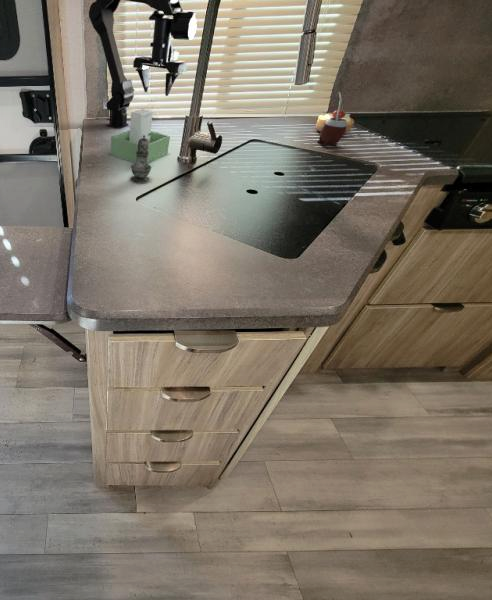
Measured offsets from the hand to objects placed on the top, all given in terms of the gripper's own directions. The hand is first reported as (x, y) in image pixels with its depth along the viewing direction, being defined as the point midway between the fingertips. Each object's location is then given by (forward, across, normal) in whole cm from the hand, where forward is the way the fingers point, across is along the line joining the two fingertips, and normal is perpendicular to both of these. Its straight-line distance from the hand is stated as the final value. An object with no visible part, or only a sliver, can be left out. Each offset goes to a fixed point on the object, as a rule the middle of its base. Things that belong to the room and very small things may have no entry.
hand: (156, 93), depth 118 cm
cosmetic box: (+13, -11, +22) cm, 27 cm away
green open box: (+13, -11, +22) cm, 28 cm away
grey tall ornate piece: (+13, -24, +38) cm, 47 cm away
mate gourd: (+13, -53, -32) cm, 63 cm away
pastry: (+13, -50, -48) cm, 71 cm away
